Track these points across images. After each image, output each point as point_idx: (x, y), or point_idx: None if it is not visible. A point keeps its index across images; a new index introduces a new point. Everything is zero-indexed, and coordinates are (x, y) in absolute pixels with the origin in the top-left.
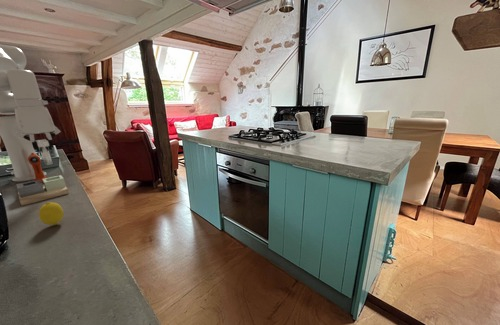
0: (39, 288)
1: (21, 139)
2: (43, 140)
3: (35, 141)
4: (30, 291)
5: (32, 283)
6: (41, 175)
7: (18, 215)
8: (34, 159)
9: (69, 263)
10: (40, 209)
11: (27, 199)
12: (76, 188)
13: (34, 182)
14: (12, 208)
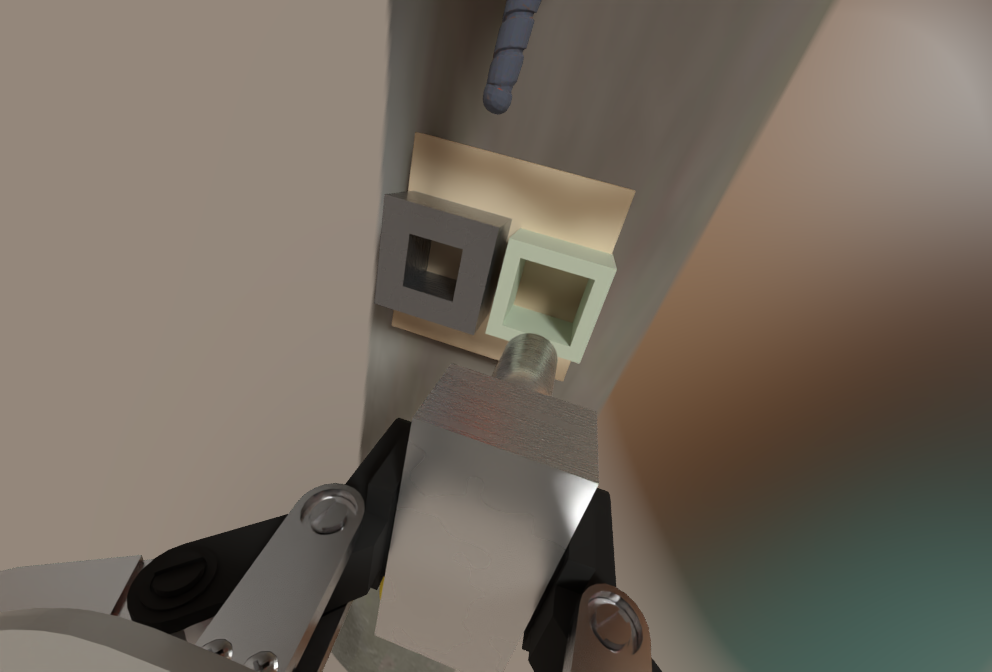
0: (358, 648)
1: None
2: (494, 577)
3: (373, 571)
4: (351, 643)
5: (354, 636)
6: None
7: (379, 399)
8: (500, 93)
9: (396, 648)
10: (380, 597)
11: (415, 332)
12: (625, 335)
13: (463, 246)
14: (377, 310)
